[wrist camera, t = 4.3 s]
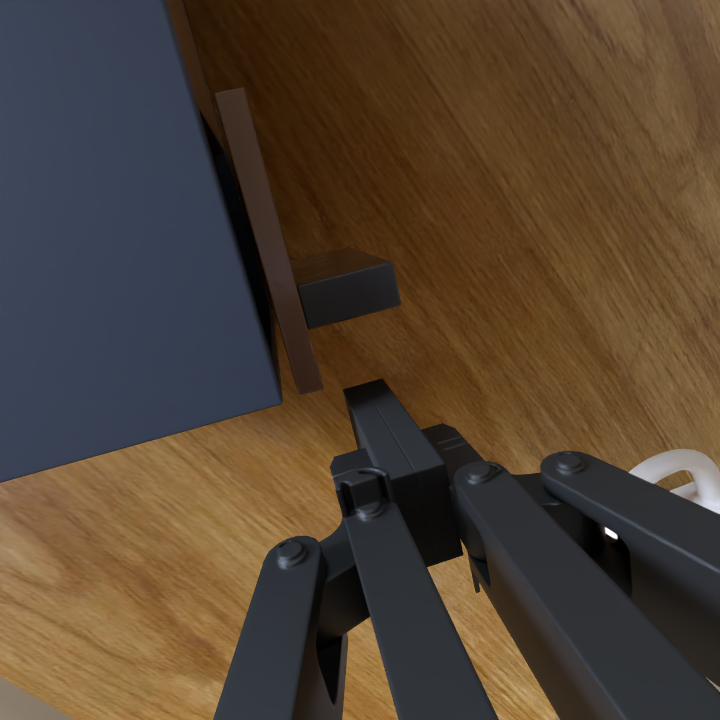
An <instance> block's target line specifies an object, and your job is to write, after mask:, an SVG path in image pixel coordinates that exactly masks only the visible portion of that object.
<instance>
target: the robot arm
mask: <svg viewBox="0 0 720 720" xmlns="http://www.w3.org/2000/svg"><path fill="white" fill-rule="evenodd" d="M343 392H344V396H345V400H346V404H347V408H348V412H349V416H350V420H351V424H352V428H353V432H354V435H355V439H356V443H357V447H358V450H356V451H352V452H349V453H346V454H342V455H339V456H336V457H334V459H333V461H332V463H331V466H330V469H331V473H332V477H333V480H334V484H335V488H336V493H337V497H338V500H339V504H340V508H341V511H342V516H343V518H342V522H341V524H340V526H339V527H338V529H337V530H336V531H335V532H334V533H333V534H332V535H330V536H329V537H327V538H326V539H324V540H322V541H321V542H318V541H317V540H316V539H315V538H312V537H309V536H296V537H292V538H289V539H286V540H284V541H282V542H281V543H279V544H277V545H276V546H275V547H274V548H273V549H272V550H270V551H269V553H268V554H267V556H266V558H265V560H264V562H263V565H262V569H261V572H260V575H259V578H258V581H257V584H256V587H255V591H254V594H253V597H252V600H251V603H250V606H249V609H248V612H247V616H246V619H245V622H244V625H243V628H242V631H241V634H240V637H239V641H238V644H237V647H236V650H235V653H234V656H233V659H232V662H231V666H230V669H229V672H228V675H227V678H226V681H225V684H224V687H223V691H222V694H221V697H220V700H219V703H218V706H217V709H216V712H215V716H214V719H213V720H342V713H343V701H344V688H345V675H346V662H347V649H348V636H347V632H348V631H349V630H351V629H352V628H354V627H355V626H357V625H358V624H360V623H361V622H363V621H364V620H366V619H367V618H369V617H371V621H372V624H373V628H374V632H375V635H376V639H377V642H378V646H379V650H380V653H381V657H382V661H383V664H384V668H385V672H386V675H387V679H388V683H389V686H390V690H391V694H392V697H393V701H394V705H395V708H396V712H397V716H398V719H399V720H499V719H498V717H497V715H496V713H495V711H494V709H493V707H492V704H491V702H490V700H489V698H488V696H487V694H486V692H485V690H484V688H483V685H482V683H481V681H480V679H479V677H478V675H477V673H476V671H475V669H474V666H473V664H472V662H471V660H470V658H469V656H468V654H467V652H466V649H465V647H464V645H463V643H462V641H461V639H460V637H459V635H458V633H457V630H456V628H455V626H454V624H453V622H452V620H451V618H450V616H449V614H448V611H447V609H446V607H445V605H444V603H443V601H442V599H441V597H440V594H439V592H438V590H437V588H436V586H435V584H434V582H433V580H432V578H431V575H430V573H429V571H428V569H427V567H429V566H432V565H435V564H438V563H441V562H444V561H447V560H450V559H453V558H456V557H459V556H462V555H463V551H462V546H461V541H462V542H463V544H464V545H465V547H466V549H467V552H468V557H469V562H470V567H471V573H472V578H473V583H474V588H475V591H476V593H478V592H480V588H479V582H480V584H481V586H482V588H483V589H484V591H485V593H486V594H487V596H488V598H489V599H490V601H491V603H492V604H493V606H494V608H495V610H496V611H497V613H498V615H499V616H500V618H501V620H502V621H503V623H504V625H505V627H506V628H507V630H508V632H509V633H510V635H511V637H512V638H513V640H514V642H515V644H516V645H517V647H518V649H519V650H520V652H521V654H522V655H523V657H524V659H525V661H526V662H527V664H528V666H529V667H530V669H531V671H532V672H533V674H534V676H535V678H536V679H537V681H538V683H539V684H540V686H541V688H542V689H543V691H544V693H545V695H546V696H547V698H548V700H549V701H550V703H551V705H552V706H553V708H554V710H555V711H556V713H557V715H558V717H559V718H560V720H720V692H719V691H718V690H717V689H716V688H715V687H714V686H713V685H712V684H711V683H710V682H709V680H711V681H712V682H713V683H715V684H716V685H717V686H719V687H720V514H718V513H716V512H714V511H711V510H709V509H707V508H705V507H703V506H700V505H698V504H696V503H694V502H692V501H690V500H687V499H685V498H683V497H681V496H679V495H676V494H674V493H672V492H670V491H668V490H665V489H663V488H661V487H659V486H657V485H654V484H652V483H650V482H648V481H646V480H644V479H641V478H639V477H637V476H635V475H633V474H630V473H628V472H626V471H624V470H622V469H619V468H617V467H615V466H613V465H611V464H608V463H606V462H604V461H602V460H600V459H598V458H595V457H593V456H591V455H588V454H585V453H582V452H574V451H564V452H563V451H562V452H557V453H554V454H551V455H549V456H547V457H546V458H545V459H543V460H542V463H541V465H540V468H541V473H533V474H522V475H513V474H510V473H509V472H508V471H507V470H506V469H505V468H504V467H503V466H501V465H500V464H498V463H494V462H490V461H484V460H483V458H482V457H481V456H480V455H479V454H478V453H477V452H476V451H475V450H474V449H473V447H472V446H471V445H470V444H468V442H467V441H466V440H465V439H464V438H463V437H462V435H461V434H460V433H459V432H458V431H457V430H456V429H455V428H453V427H451V426H448V425H446V424H443V423H442V424H439V425H435V426H432V427H428V428H425V429H422V430H420V428H419V427H418V426H417V424H416V423H415V421H414V420H413V419H412V417H411V416H410V415H409V413H408V412H407V411H406V409H405V408H404V407H403V405H402V404H401V403H400V401H399V400H398V399H397V397H396V396H395V395H394V393H393V392H392V391H391V389H390V388H389V386H388V385H387V384H386V382H385V381H384V380H383V378H382V379H378V380H375V381H371V382H368V383H364V384H360V385H357V386H353V387H350V388H346V389H343ZM605 527H606V528H608V529H609V530H611V531H613V532H614V533H615V534H617V539H615V538H613V537H611V536H609V535H608V534H606V531H605ZM460 539H461V541H460ZM706 677H707V678H708V679H709V680H708V679H707V678H706Z"/></svg>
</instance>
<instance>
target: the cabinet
mask: <svg viewBox="0 0 720 720" xmlns="http://www.w3.org/2000/svg"><path fill="white" fill-rule="evenodd" d="M282 403H283V398H282V389H281V378H280V369H279V359H278V349H277V339H276V330H275V322H274V318H273V315H272V311H271V308H270V304H269V301H268V297H267V294H266V290H265V287H264V283H263V280H262V276H261V273H260V269H259V266H258V262H257V259H256V255H255V252H254V248H253V245H252V241H251V238H250V234H249V231H248V227H247V224H246V220H245V217H244V213H243V210H242V206H241V203H240V199H239V196H238V192H237V189H236V185H235V182H234V178H233V175H232V171H231V168H230V164H229V161H228V157H227V154H226V150H225V147H224V143H223V140H222V136H221V133H220V129H219V126H218V122H217V119H216V115H215V112H214V108H213V105H212V101H211V98H210V94H209V91H208V87H207V84H206V80H205V77H204V73H203V70H202V66H201V63H200V59H199V56H198V52H197V49H196V45H195V42H194V38H193V35H192V31H191V28H190V24H189V21H188V17H187V14H186V10H185V7H184V3H183V0H0V483H1V482H5V481H8V480H12V479H15V478H19V477H22V476H26V475H30V474H33V473H37V472H40V471H44V470H48V469H51V468H55V467H58V466H62V465H66V464H69V463H73V462H76V461H80V460H83V459H87V458H91V457H94V456H98V455H101V454H105V453H109V452H112V451H116V450H119V449H123V448H126V447H130V446H134V445H137V444H141V443H144V442H148V441H152V440H155V439H159V438H162V437H166V436H169V435H173V434H177V433H180V432H184V431H187V430H191V429H195V428H198V427H202V426H205V425H209V424H212V423H216V422H220V421H223V420H227V419H230V418H234V417H238V416H241V415H245V414H248V413H252V412H255V411H259V410H263V409H266V408H270V407H273V406H277V405H281V404H282Z"/></svg>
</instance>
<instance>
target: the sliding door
mask: <svg viewBox="0 0 720 720" xmlns="http://www.w3.org/2000/svg"><path fill="white" fill-rule="evenodd" d="M214 98H215V102H216V105H217V109H218V112H219V116H220V119H221V123H222V126H223V130H224V134H225V137H226V141H227V144H228V148H229V151H230V155H231V158H232V162H233V165H234V169H235V172H236V176H237V179H238V183H239V186H240V190H241V193H242V197H243V201H244V204H245V208H246V211H247V215H248V218H249V222H250V225H251V229H252V232H253V236H254V239H255V243H256V246H257V250H258V253H259V257H260V260H261V264H262V268H263V271H264V275H265V278H266V282H267V285H268V289H269V292H270V296H271V299H272V303H273V306H274V310H275V313H276V317H277V320H278V324H279V327H280V331H281V335H282V338H283V342H284V345H285V349H286V352H287V356H288V359H289V363H290V366H291V370H292V373H293V377H294V380H295V384H296V387H297V391H298V394H299V395H305V394H308V393H312V392H315V391H319V390H322V389H323V384H322V380H321V376H320V373H319V369H318V365H317V361H316V357H315V354H314V350H313V346H312V342H311V339H310V335H309V331H308V329H314V328H318V327H322V326H326V325H329V324H333V323H337V322H341V321H345V320H348V319H352V318H356V317H360V316H364V315H367V314H371V313H375V312H379V311H383V310H386V309H390V308H394V307H398V306H400V305H401V299H400V294H399V289H398V284H397V279H396V274H395V269H394V264H393V262H391V261H389V260H386V259H383V258H380V257H377V256H374V255H372V254H369V253H366V252H363V251H360V250H357V249H355V248H352V247H345V248H341V249H337V250H333V251H329V252H325V253H321V254H317V255H313V256H309V257H305V258H300V259H296V260H292V261H290V259H289V256H288V252H287V248H286V244H285V240H284V237H283V233H282V229H281V225H280V222H279V218H278V214H277V210H276V207H275V203H274V199H273V195H272V191H271V188H270V184H269V180H268V176H267V173H266V169H265V165H264V161H263V158H262V154H261V150H260V146H259V142H258V139H257V135H256V131H255V127H254V124H253V120H252V116H251V112H250V108H249V105H248V101H247V97H246V93H245V90H244V88H242V87H240V88H235V89H230V90H225V91H221V92H216V93H214Z"/></svg>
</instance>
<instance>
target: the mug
mask: <svg viewBox="0 0 720 720" xmlns="http://www.w3.org/2000/svg"><path fill="white" fill-rule="evenodd" d="M680 470H688V471H689V472H690V473H691V474H692V476H693V478H694V481H693V482H691V483H688V484H686V485H683V486H681V487H678V488H676V489H673V490H671V491H670V492H672V493H674V494H676V495H679V496H681V497H683V498H685V499H687V500H690V501H692V502H694V503H696V504H698V505H700V506H703V507H705V508H707V509H709V510H711V511H714V512H716V513H718V514H720V471H719V469H718V468H717V466H716V465H715V463H714V462H713V461H712V460H711V459H710V458H709V457H707V456H706V455H704V454H703V453H701V452H698V451H695V450H691V449H675V450H670V451H666V452H662V453H660V454H657V455H655V456H653V457H651V458H649V459H647V460H645V461H643V462H642V463H640V464H639V465H637V466H636V467H634V468H633V469H632V470H631V471H629V472H628V473H630V474H633V475H635V476H637V477H639V478H641V479H644V480H646V481H648V482H650V483H652V484H654V483H656V482H657V481H659V480H661V479H662V478H664V477H666V476H668V475H670V474H672V473H675V472H677V471H680ZM605 531H606V534H608V535H609V536H611V537H613V538H615V539H617V534H615V533H614V532H613V531H611V530H609V529H608V528H606V527H605Z"/></svg>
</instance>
